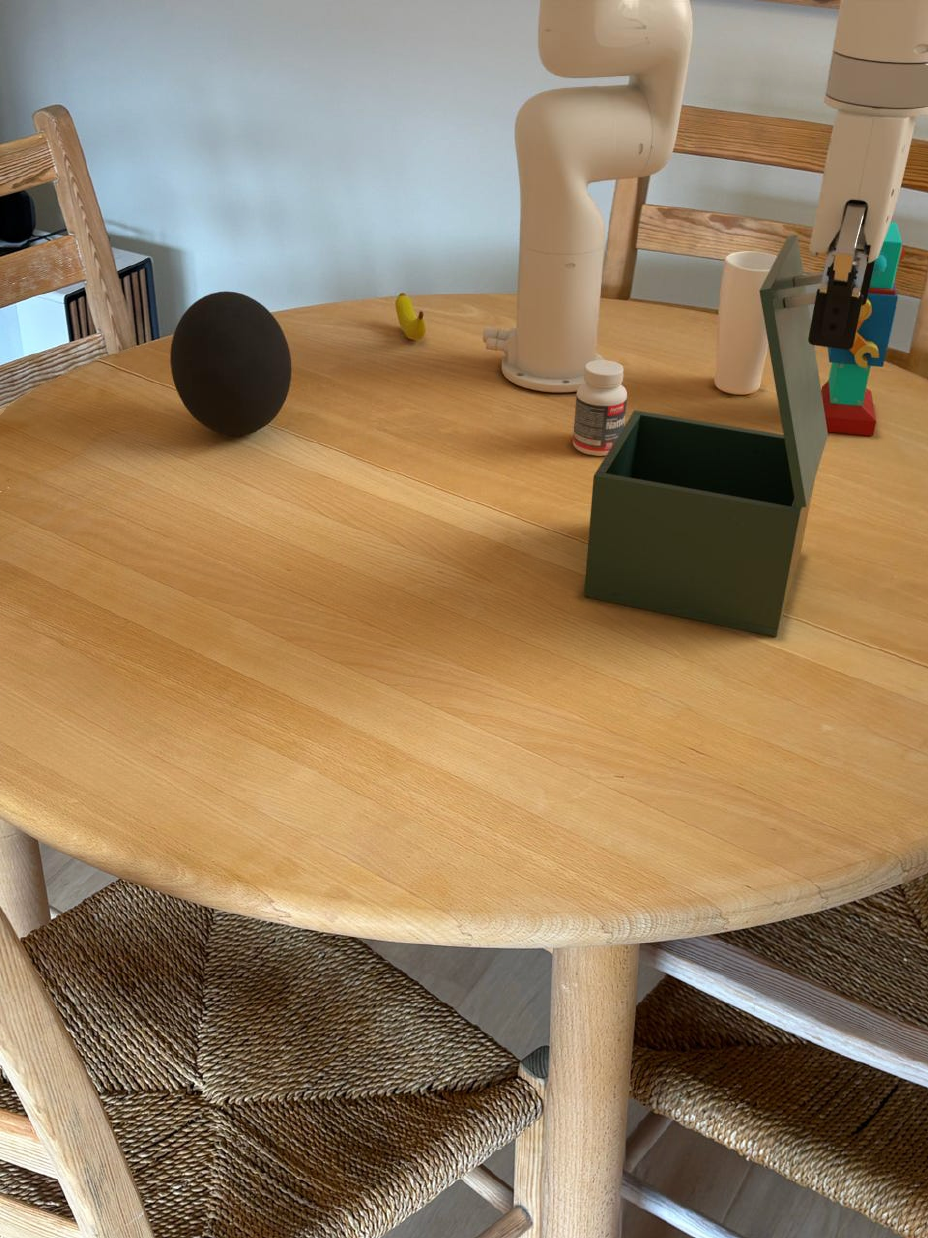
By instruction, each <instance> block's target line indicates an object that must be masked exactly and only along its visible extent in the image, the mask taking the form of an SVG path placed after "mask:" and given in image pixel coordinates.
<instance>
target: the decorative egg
mask: <svg viewBox="0 0 928 1238" xmlns="http://www.w3.org/2000/svg"><path fill="white" fill-rule="evenodd" d="M170 345H171V346H170V354H169V355H170V358H169V359H170V370H171V377H172V381H173V384H174V387H175V390H176V392H177V394H178V397H179V398H180V400H181V402H182V404H183V406H184V407H185V408H186V410H187V412H189V413H190V415H191V416H192V417H193V418H194V419H195V420H197V421H198V422H199V423H200V424H201V425H202V426H203V427H206V428H207V429H209V430H211V431H213V432H216V433H218V434H222V435H225V436H232V437H233V436H234V437H237V436H245V435H250V434H253V433H255V432H258V431H260V430H261V429H264V428H265V427H267V425H269V424H270V423H271V422H272V421H273V420H274V419H275V418H276V417H277V416H278V414H279V413H280V411H281V410H282V408H283V406H284V404H285V402H286V400H287V397H288V395H289V391H290V387H291V382H292V371H293V370H292V369H293V368H292V357H291V351H290V347H289V343H288V341H287V338H286V335H285V333H284V331H283V328H282V327H281V325H280V324H279V322H278V320H277V319H276V318H275V316H274V315H273V314H272V313H271V311H270V310H269V309H268V308H267V307H266V306H265V305H263V304H262V303H261V302H259V301H257V300H256V299H254V298H253V297H251V296H249V295H246V294H244V293H241V292H240V293H239V292H235V291H228V290H227V291H226V290H225V291H218V292H212V293H209V294H207V295H204V296H202V297H200V298H199V299H197V300H196V301H195V302H193V303H192V304H190V306H189V307H188V308H187V309H186V310H185V312H184V313H183V314H182V315H181V317H180V319H179V321H178V323H177V325H176V326H175V330H174V332H173V336H172V340H171V344H170Z"/></svg>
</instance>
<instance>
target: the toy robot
mask: <svg viewBox="0 0 928 1238" xmlns="http://www.w3.org/2000/svg"><path fill="white" fill-rule="evenodd" d="M905 255H906V249H905V247H904V246H903V240H902V237H901V233H900V229H899V227H898V223H897V222H895V221H894V222H893V221H891V222H890V225H889V228H888V231H887V234H886V237H885V239H884V242H883V245H882V247H881V250H880V253H879V255H878V258H877V259H876V260H875V263H874V268H873V273H872V278H871V283H870V288H869V293H868V298H867V302H866V303H865V304H864V305H862V306H861V311H860V316H859V320H858V325H857V330H856V335H855V340H854V345H853V347H852V348H851V349H849V350H844V349H837V348H830V347H827V352H828V353H827V355H828V363H831V364H830V370H829V375H828V380H827V381H826V382H825V384H823V385H822V386H821V393H822V399H823V406H824V413H825V419H826V426H827V432H828V433H835V434H846V435H855V436H856V435H857V436H867V437H873V436H874V435H875V429H876V425H877V418H876V413H875V406H874V400H873V394H872V393H873V392H872V391H871V390H870V389H868V388H867V386H868V380H869V376H870V371H871V367H878V368H883V367H884V365H885V359H886V354H887V350H888V348H889V344H890V339H891V335H892V330H893V325H894V321H895V315H896V311H897V304H898V299H899V295H898V292H897V287H896V283H895V280H896V278H897V274H898V273H897V272H898V265H899V263H900V262H901V261H903V260H904V258H905Z"/></svg>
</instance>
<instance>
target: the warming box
mask: <svg viewBox="0 0 928 1238" xmlns="http://www.w3.org/2000/svg"><path fill="white" fill-rule="evenodd" d="M592 480H593V481H592V490H591V491H592V492H591V504H590V516H589V528H588V540H587V541H588V542H587V553H586V565H585V577H584V589H583V597H584V598H589V599H594V600H597V601H598V600H599V601H603V602H607V603H608V602H609V603H613V604H617V605H622V606H627V607H632V608H636V609H642V610H644V611H645V610H646V611H650V612H656V613H660V614H666V615H669V616H675V617H680V618H683V619H687V620H688V619H689V620H692V621H693V620H694V621H698V622H703V623H708V624H713V625H717V626H722V627H727V628H732V629H736V630H742V631H745V632H751V633H756V634H761V635H765V636H769V637H773V638H774V637H775V638H777V637H778V634H779V631H780V627H781V625H782V621H783V618H784V617H783V616H784V614H785V610H786V606H787V603H788V599H789V597H790V596H789V595H790V593H791V590H792V587H793V586H792V585H793V584H794V583H793V582H794V579H795V576H796V572H797V568H798V565H799V562H800V559H801V554H802V547H803V544H804V543H803V542H804V538H805V532H806V529H807V528H806V527H807V523H808V516H809V512H810V506H811V501H812V497H813V491H814V485H815V480H816V479H815V480H814V483H813V487H812V490H811V493H810V496H809V500H808V503H807V506H806V507H802V508H796V504H795V498H794V492H793V487H792V481H791V475H790V469H789V463H788V457H787V451H786V445H785V439H784V434H782V433H777V432H776V433H775V432H770V431H764V430H759V429H753V428H746V427H740V426H733V425H727V424H722V423H715V422H709V421H704V420H703V421H702V420H697V419H690V418H685V417H678V416H673V415H668V414H667V415H666V414H660V413H654V412H650V411H649V412H647V411H643V410H635V409H634V410H633V412H632V413H631V415H630V416H629V418H628V419H627V421H626V423H625V424H624V428H623V429H622V431H621V433H620V434H619V436H618V437H617V439H616V441H615V442H614V444H613V446H612V447H611V449H610V450H609V452H608V454H607V455H605V457H604V458H603V460H602V461H601V463H600V465H599V466H598V468H597V470H596V471H595V472H594V474H593V479H592Z"/></svg>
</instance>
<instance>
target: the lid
mask: <svg viewBox="0 0 928 1238" xmlns="http://www.w3.org/2000/svg"><path fill="white" fill-rule="evenodd" d="M776 256H777V258H776V260H775V262H774V264H773V266H772V267H771V269H770V271H769V273H768V275H767V277H766V279H765V281H764V283H763V285H762V287H761V289H760V290H759V292H760V298H761V304H762V310H763V315H764V321H765V327H766V333H767V339H768V345H769V348H768V351H769V357H770V362H771V367H772V373H773V380H774V386H775V391H776V398H777V402H778V409H779V415H780V421H781V427H782V433H783V435H784V439H785V445H786V451H787V457H788V463H789V469H790V475H791V481H792V487H793V492H794V498H795V504H796V508H802V507H806V506H807V503H808V500H809V496H810V493H811V490H812V487H813V483H814V484H815V481H814V480H816V477H817V474H818V469H819V466H820V463H821V460H822V456H823V454H824V453H823V452H824V450H825V446H826V443H827V440H828V436H829V432H827V426H826V419H825V413H824V406H823V399H822V393H821V389H822V386H821V381H820V373H819V368H818V361H817V354H816V347H815V345H811V344H810V343H809V341H808V338H809V332H810V327H811V321H812V319H811V313H810V308H809V306H810V305H815V299H816V293H817V291H814V292H809V293H807V288H806V287H808V286H812V285H813V286H814V285H819V284H821V281H822V277H823V273H824V270H823V271H818V272H812V273H807V274H804V267H803V263H802V262H803V261H802V255H801V250H800V243H799V236H798V234H793V235H788V236H787V237H786V239H785V240H784V243H783V245H782V246H781V248H780V250H779V252H778V254H777V255H776ZM853 265H854V264H853ZM854 266H856V268H858V265H854ZM856 270H857V269H856ZM854 281H855V279H854ZM813 488H814V487H813Z"/></svg>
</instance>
